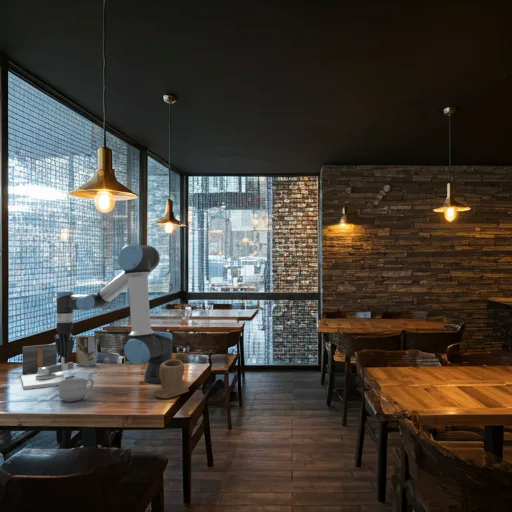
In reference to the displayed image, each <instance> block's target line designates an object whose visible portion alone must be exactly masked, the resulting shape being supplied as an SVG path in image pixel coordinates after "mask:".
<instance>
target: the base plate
mask: <svg viewBox="0 0 512 512" xmlns="http://www.w3.org/2000/svg"><path fill="white" fill-rule="evenodd" d="M53 374H56V377H54V378H51V379H36V376H37V375H38V373H34V374H25V375H21V376H20V378H21V379H20V380H21V384H23V385H22V389H23V390H25V389H26V390H32V388H34V389H40V388H41V387H42V388H49V387H48V386H50V387H56V385H59V384H58V382H60V381H63V380H67V378H66V377H65V375H64V374H63V371H60V372H56V373H53Z"/></svg>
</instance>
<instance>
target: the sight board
mask: <svg viewBox="0 0 512 512" xmlns="http://www.w3.org/2000/svg"><path fill="white" fill-rule="evenodd" d="M57 358H58V355H57V349H56V343H53V344H38V345H28V346H25V345H24V346H22V363H21V364H22V368H21V369H22V370H21V371H22V372H21V373H22V374H25V375H28V374H27V373H34V374H37V373H36V372H38V368H39V367H48V366H53V365H58V359H57Z"/></svg>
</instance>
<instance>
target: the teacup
mask: <svg viewBox="0 0 512 512" xmlns="http://www.w3.org/2000/svg"><path fill="white" fill-rule="evenodd" d="M88 382H90V385H89V387H87V384H88ZM58 384H59V386H58V396H59V398H60V399H61V400H62V401H64V402H65V403H69V402H77V401H80V400H82V399H83V398H84V397H85V395H86V394H87V393H88V391H89V390H91V389H92V388H93V387H94V385H95V381H94V379H92V378H84V377H83V378H82V377H75V378H68V379H67V378H66V380H63V381H60V382H58Z"/></svg>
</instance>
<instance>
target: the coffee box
mask: <svg viewBox="0 0 512 512" xmlns="http://www.w3.org/2000/svg"><path fill="white" fill-rule="evenodd" d="M96 341H97V339H96V335H89V334H87V335H86V334H85V335H84V334H83V335H78V336H76V339H75V365H76V364H79V365H87V366H86V367H90V366H89V365H91V366H93V365H96V363H97V361H96V357H97V356H96V355H97V353H96V352H97V351H96V349H97V348H96V347H97V346H96ZM79 365H78V366H79Z"/></svg>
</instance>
